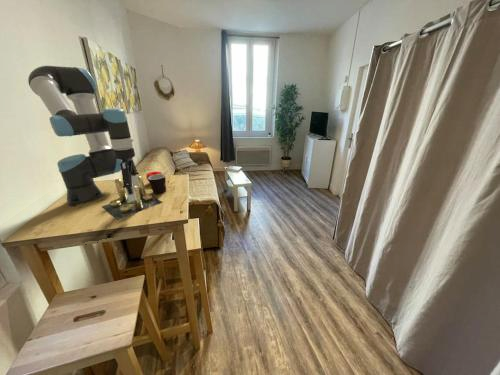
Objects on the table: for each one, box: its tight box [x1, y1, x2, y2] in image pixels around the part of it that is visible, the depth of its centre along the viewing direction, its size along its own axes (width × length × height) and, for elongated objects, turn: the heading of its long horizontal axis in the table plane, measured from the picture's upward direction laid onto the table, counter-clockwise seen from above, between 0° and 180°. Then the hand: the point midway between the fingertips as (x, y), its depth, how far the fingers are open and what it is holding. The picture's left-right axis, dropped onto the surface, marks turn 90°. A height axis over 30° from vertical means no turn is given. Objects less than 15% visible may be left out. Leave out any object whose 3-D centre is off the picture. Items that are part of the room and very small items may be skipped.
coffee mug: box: [148, 173, 167, 195], centre depth 116 cm, size 12×9×10 cm
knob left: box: [137, 175, 154, 201], centre depth 107 cm, size 9×4×11 cm, turn 50°
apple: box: [145, 171, 163, 184], centre depth 128 cm, size 9×9×8 cm
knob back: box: [109, 178, 128, 207], centre depth 102 cm, size 9×4×11 cm, turn 170°
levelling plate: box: [101, 196, 163, 221], centre depth 103 cm, size 20×21×3 cm
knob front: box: [120, 184, 143, 212], centre depth 96 cm, size 9×4×11 cm, turn 110°
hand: (135, 193), depth 96 cm, fingers open, 13 cm apart
